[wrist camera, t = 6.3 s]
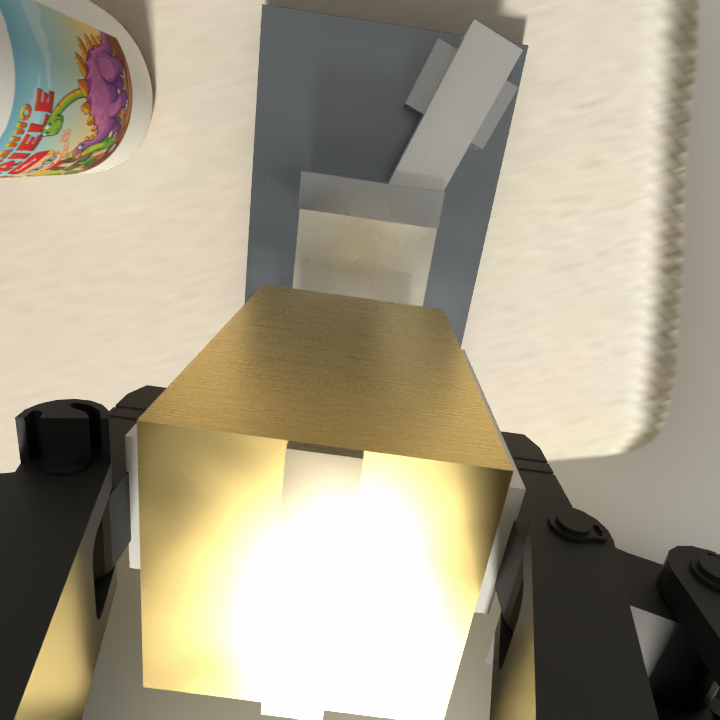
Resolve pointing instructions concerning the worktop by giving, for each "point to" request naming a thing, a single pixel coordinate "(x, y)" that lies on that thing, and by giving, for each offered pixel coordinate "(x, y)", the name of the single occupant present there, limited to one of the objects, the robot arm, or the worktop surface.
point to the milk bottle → (68, 89)
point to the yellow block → (318, 510)
